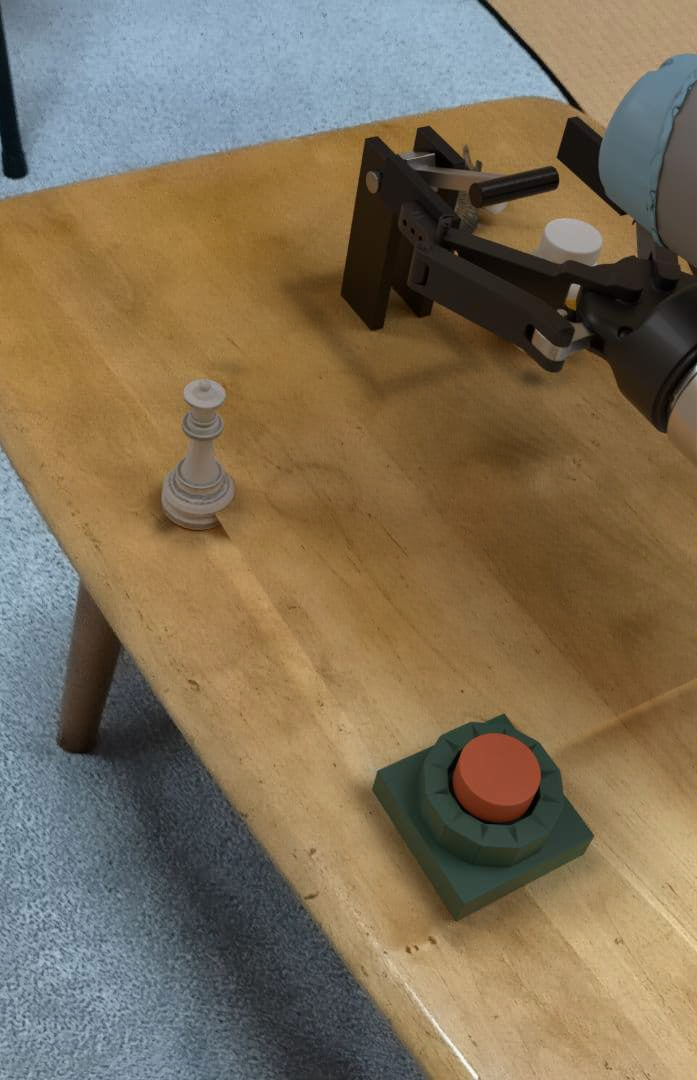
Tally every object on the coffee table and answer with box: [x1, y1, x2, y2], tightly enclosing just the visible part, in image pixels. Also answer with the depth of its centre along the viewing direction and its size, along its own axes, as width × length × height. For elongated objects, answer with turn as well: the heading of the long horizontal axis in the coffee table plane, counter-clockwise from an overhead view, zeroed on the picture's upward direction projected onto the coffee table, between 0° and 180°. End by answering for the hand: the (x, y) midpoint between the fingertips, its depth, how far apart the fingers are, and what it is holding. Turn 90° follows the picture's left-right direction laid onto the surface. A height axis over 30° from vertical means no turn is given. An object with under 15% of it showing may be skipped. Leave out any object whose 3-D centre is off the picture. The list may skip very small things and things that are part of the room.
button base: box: [371, 713, 595, 922], centre depth 62 cm, size 8×8×4 cm
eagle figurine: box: [455, 144, 511, 235], centre depth 95 cm, size 8×7×9 cm
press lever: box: [398, 150, 560, 210], centre depth 76 cm, size 13×6×2 cm, turn 30°
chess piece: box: [161, 378, 235, 531], centre depth 71 cm, size 4×4×10 cm
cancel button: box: [453, 733, 541, 823], centre depth 60 cm, size 4×4×2 cm
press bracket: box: [340, 125, 466, 332], centre depth 84 cm, size 12×8×14 cm, turn 30°
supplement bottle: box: [512, 217, 604, 358], centre depth 86 cm, size 5×5×10 cm
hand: (480, 155), depth 73 cm, fingers open, 12 cm apart
